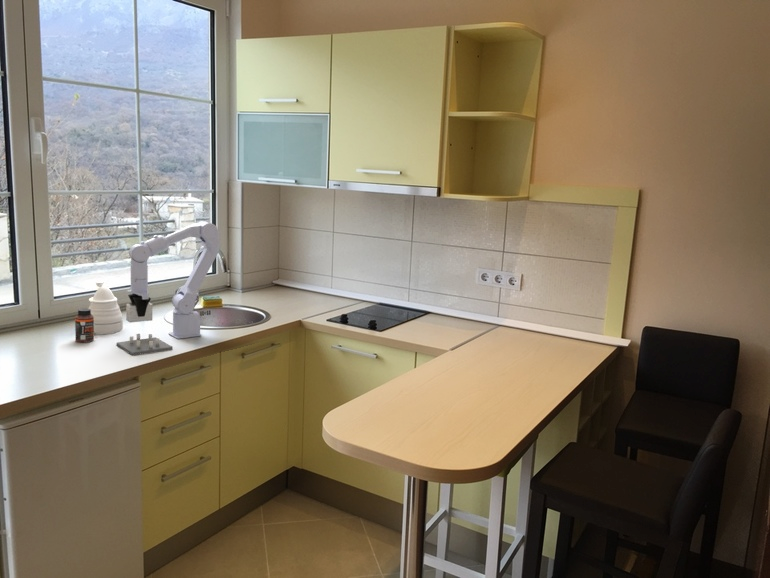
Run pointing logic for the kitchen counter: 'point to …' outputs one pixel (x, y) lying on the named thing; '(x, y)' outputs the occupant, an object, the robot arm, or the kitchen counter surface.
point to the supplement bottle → (84, 326)
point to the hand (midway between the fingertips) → (139, 315)
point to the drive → (133, 316)
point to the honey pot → (105, 311)
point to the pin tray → (144, 345)
